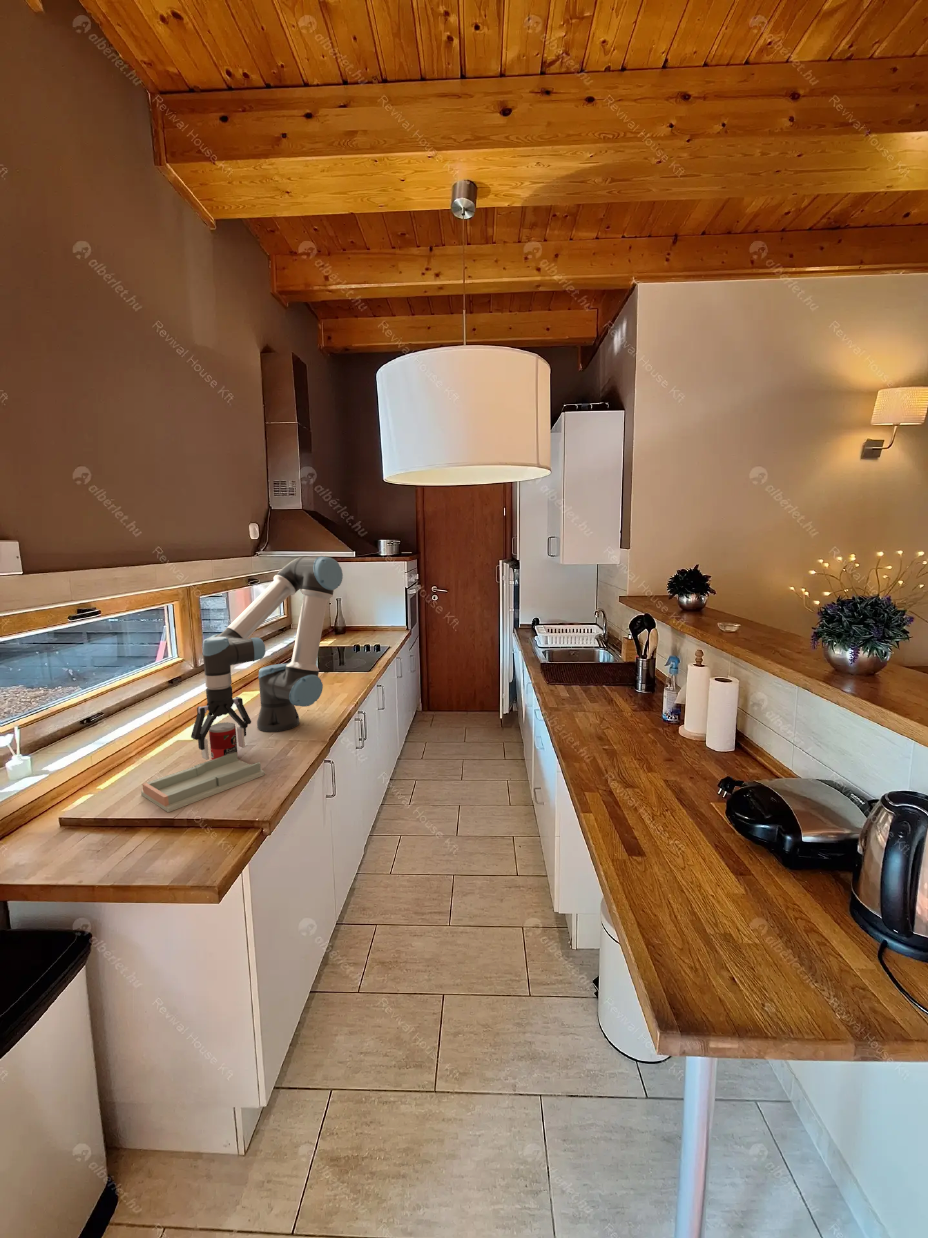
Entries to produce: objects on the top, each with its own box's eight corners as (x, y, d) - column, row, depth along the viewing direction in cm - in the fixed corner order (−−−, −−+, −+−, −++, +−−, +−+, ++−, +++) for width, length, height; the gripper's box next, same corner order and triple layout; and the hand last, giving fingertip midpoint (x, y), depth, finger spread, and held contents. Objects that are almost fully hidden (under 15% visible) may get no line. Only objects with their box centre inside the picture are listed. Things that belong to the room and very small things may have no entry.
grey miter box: (236, 761, 174) (235, 750, 174) (264, 774, 165) (263, 763, 164) (141, 795, 153) (140, 782, 152) (168, 812, 143) (166, 799, 142)
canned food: (228, 765, 172) (225, 731, 170) (206, 763, 174) (203, 729, 172) (243, 755, 180) (240, 723, 178) (221, 753, 181) (218, 721, 179)
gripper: (247, 676, 184) (251, 739, 188) (174, 693, 166) (180, 761, 169) (259, 680, 180) (264, 743, 183) (186, 697, 161) (192, 767, 165)
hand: (224, 752), depth 176 cm, fingers open, 11 cm apart
